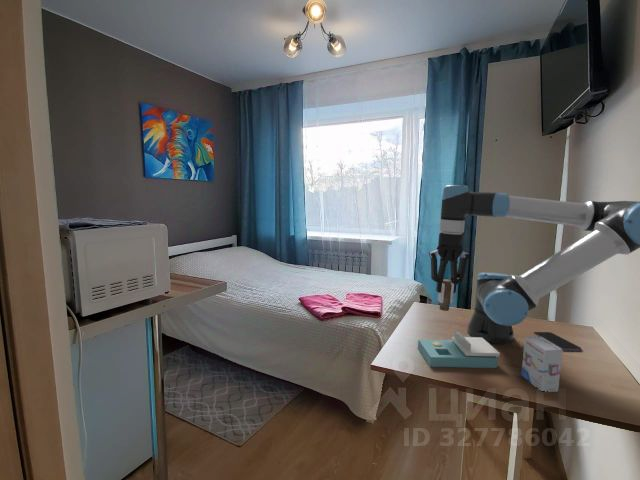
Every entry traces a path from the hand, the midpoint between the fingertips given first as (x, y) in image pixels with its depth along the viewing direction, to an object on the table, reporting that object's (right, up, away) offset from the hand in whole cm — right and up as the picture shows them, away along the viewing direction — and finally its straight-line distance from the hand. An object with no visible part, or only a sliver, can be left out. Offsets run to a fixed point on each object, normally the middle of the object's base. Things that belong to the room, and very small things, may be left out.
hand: (444, 301), depth 115 cm
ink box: (+18, -19, -22) cm, 34 cm away
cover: (+6, -13, -9) cm, 17 cm away
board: (0, -16, -8) cm, 18 cm away
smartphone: (+42, -16, +6) cm, 45 cm away
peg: (0, -3, 0) cm, 3 cm away
